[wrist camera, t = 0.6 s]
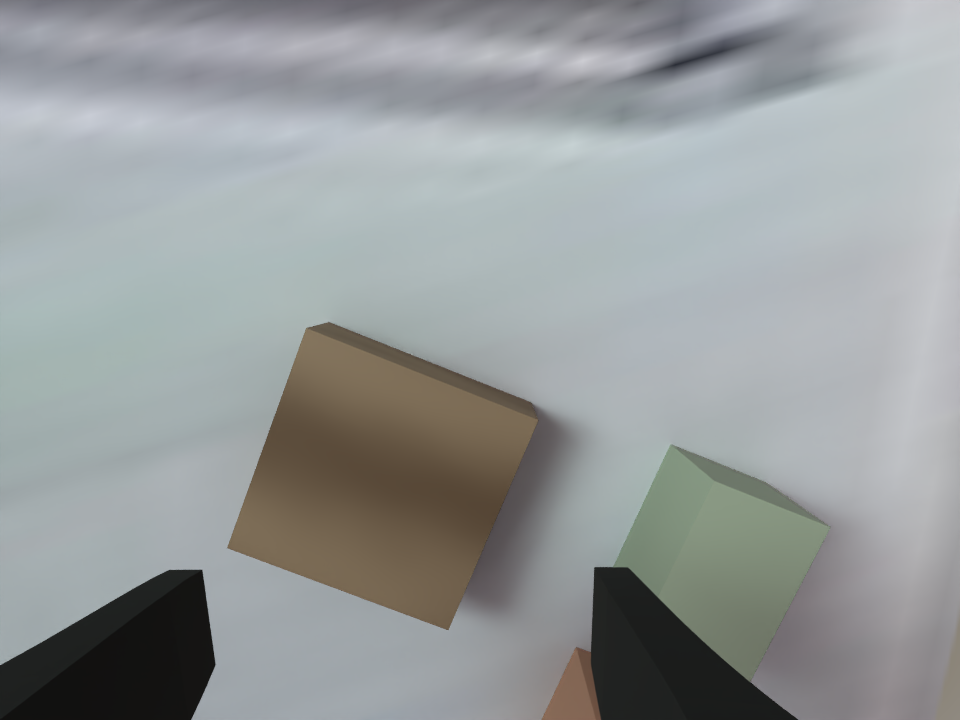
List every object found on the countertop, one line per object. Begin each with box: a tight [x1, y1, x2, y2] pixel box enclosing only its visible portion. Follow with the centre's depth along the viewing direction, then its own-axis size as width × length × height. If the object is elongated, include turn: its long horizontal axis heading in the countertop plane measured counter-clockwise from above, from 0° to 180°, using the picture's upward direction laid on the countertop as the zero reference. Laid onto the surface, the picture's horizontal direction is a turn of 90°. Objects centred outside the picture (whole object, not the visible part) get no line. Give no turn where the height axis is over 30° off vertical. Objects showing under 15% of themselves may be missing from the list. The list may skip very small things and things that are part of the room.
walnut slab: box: [227, 322, 538, 630], centre depth 20 cm, size 8×8×3 cm
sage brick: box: [613, 444, 830, 682], centre depth 19 cm, size 6×4×4 cm, turn 158°
